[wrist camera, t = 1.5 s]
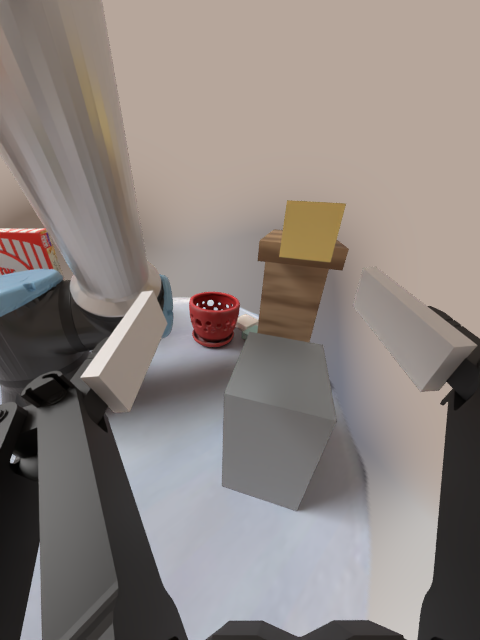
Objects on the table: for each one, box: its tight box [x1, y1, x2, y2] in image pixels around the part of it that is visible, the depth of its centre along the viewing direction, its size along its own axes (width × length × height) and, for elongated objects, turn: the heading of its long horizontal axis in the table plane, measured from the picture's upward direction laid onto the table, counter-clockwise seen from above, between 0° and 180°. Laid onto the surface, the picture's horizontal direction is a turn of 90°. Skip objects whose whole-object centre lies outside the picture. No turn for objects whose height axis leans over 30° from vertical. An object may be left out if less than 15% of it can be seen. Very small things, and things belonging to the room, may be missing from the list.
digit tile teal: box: [242, 325, 258, 340], centre depth 60 cm, size 6×6×2 cm
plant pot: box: [189, 292, 240, 347], centre depth 56 cm, size 13×13×12 cm
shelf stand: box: [257, 230, 349, 342], centre depth 38 cm, size 17×10×30 cm, turn 166°
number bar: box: [279, 201, 346, 262], centre depth 25 cm, size 22×4×4 cm, turn 166°
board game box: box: [0, 228, 65, 280], centre depth 46 cm, size 20×6×27 cm, turn 114°
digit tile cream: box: [235, 314, 259, 331], centre depth 66 cm, size 6×6×2 cm
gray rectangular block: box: [222, 332, 337, 511], centre depth 28 cm, size 12×10×18 cm
